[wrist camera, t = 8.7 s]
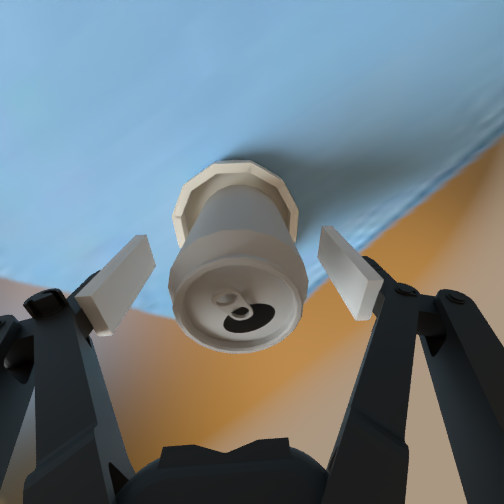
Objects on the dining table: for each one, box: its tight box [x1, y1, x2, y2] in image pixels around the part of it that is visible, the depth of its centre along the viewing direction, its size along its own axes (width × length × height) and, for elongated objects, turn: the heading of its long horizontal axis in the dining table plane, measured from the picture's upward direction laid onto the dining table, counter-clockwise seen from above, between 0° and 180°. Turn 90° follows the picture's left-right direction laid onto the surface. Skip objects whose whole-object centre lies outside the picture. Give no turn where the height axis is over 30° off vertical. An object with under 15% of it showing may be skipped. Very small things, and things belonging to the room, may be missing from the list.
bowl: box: [172, 160, 299, 248], centre depth 20 cm, size 11×11×2 cm
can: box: [168, 185, 308, 354], centre depth 15 cm, size 8×8×12 cm
